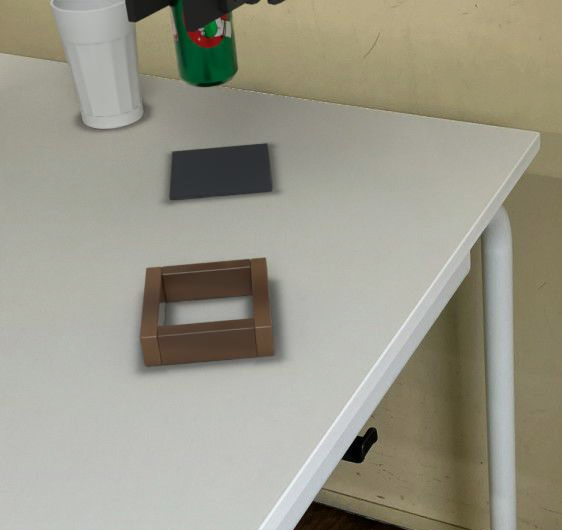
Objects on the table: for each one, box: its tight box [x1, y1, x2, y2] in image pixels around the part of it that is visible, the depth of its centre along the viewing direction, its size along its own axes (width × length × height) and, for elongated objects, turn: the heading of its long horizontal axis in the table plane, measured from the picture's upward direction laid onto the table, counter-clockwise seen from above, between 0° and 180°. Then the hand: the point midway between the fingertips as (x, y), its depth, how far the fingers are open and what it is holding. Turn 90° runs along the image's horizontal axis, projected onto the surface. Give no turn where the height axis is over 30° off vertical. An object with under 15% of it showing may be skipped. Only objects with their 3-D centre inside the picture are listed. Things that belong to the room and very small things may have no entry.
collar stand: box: [139, 256, 276, 367], centre depth 72 cm, size 9×9×2 cm
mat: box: [169, 142, 273, 201], centre depth 92 cm, size 9×9×1 cm
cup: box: [49, 0, 145, 130], centre depth 100 cm, size 8×8×12 cm
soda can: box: [168, 0, 239, 88], centre depth 82 cm, size 5×5×12 cm
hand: (158, 9), depth 78 cm, fingers closed on soda can, 5 cm apart
